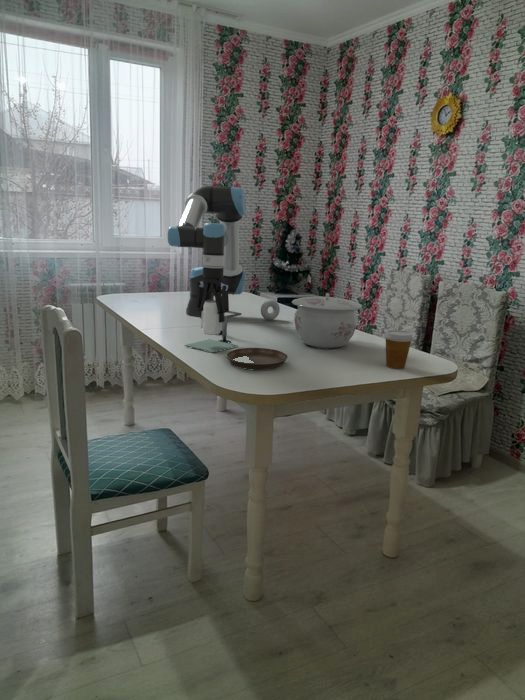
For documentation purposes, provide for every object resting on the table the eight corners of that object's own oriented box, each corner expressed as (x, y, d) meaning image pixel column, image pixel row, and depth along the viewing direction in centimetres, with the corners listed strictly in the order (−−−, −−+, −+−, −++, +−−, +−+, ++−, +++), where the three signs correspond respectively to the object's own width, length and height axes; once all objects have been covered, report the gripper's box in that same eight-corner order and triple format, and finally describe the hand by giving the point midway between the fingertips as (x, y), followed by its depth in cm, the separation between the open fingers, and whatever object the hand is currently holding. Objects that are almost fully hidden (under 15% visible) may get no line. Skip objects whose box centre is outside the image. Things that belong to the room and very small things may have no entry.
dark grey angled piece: (198, 338, 214) (198, 312, 212) (220, 333, 225) (220, 308, 223) (225, 343, 207) (225, 317, 204) (246, 338, 218) (247, 313, 215)
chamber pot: (313, 355, 195) (317, 299, 190) (276, 339, 219) (279, 288, 214) (374, 350, 208) (379, 297, 203) (333, 335, 232) (337, 287, 227)
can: (199, 333, 198) (200, 301, 195) (207, 330, 204) (208, 299, 201) (215, 335, 196) (216, 303, 193) (223, 332, 202) (224, 300, 199)
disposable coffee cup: (377, 362, 190) (381, 329, 187) (404, 363, 191) (407, 330, 188) (386, 370, 181) (389, 335, 178) (413, 370, 182) (417, 336, 179)
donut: (277, 319, 262) (278, 298, 260) (280, 320, 259) (281, 299, 257) (258, 319, 258) (259, 299, 255) (262, 321, 255) (263, 300, 252)
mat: (184, 346, 200) (184, 344, 199) (209, 340, 211) (209, 339, 211) (213, 353, 192) (213, 351, 192) (237, 346, 203) (237, 345, 203)
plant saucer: (239, 375, 168) (239, 364, 168) (217, 358, 187) (218, 349, 186) (297, 370, 177) (298, 360, 176) (271, 354, 195) (272, 346, 194)
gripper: (186, 265, 197) (185, 326, 202) (227, 269, 186) (225, 334, 191) (199, 264, 203) (198, 324, 208) (240, 268, 192) (238, 331, 197)
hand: (211, 329), depth 200 cm, fingers closed on can, 6 cm apart
